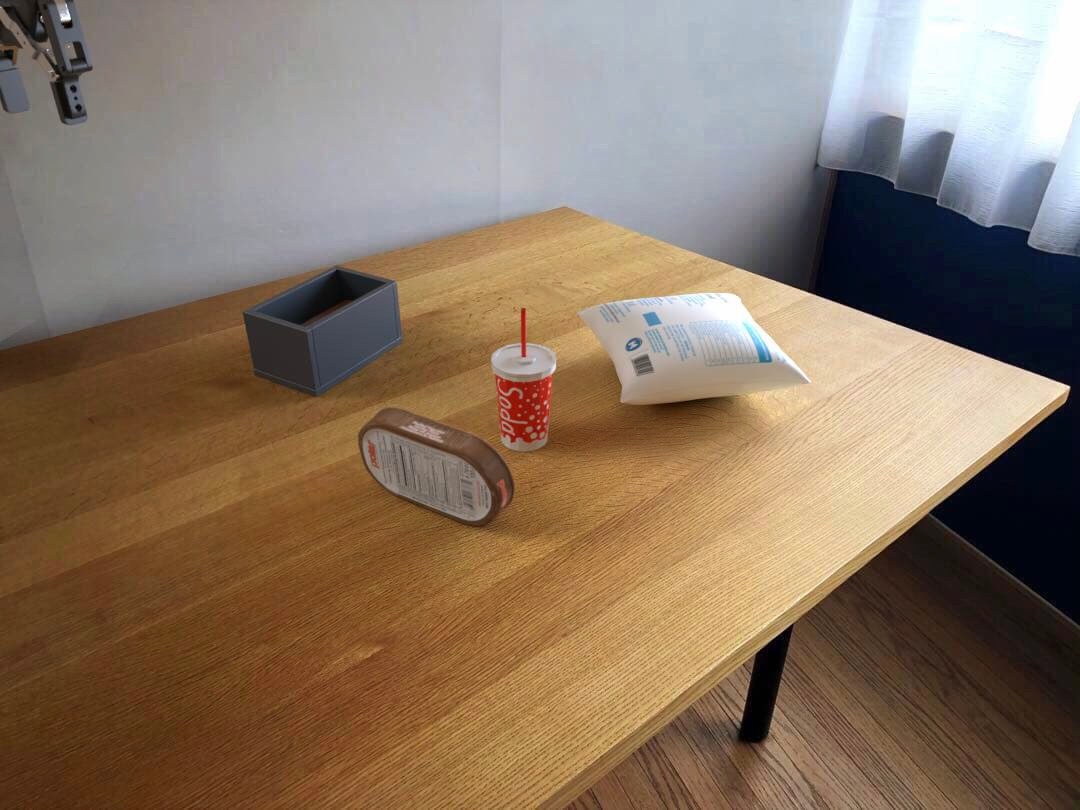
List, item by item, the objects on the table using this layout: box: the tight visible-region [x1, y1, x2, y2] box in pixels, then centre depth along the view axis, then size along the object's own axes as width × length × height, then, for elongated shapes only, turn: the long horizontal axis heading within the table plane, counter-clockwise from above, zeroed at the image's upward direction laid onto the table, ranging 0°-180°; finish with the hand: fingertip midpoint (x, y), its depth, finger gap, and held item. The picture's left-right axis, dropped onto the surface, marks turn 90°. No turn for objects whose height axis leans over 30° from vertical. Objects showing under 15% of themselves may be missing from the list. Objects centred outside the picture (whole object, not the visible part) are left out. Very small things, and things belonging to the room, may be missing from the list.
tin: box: [357, 406, 516, 527], centre depth 73 cm, size 15×3×8 cm, turn 59°
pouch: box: [576, 292, 812, 406], centre depth 93 cm, size 8×19×20 cm
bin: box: [242, 265, 403, 398], centre depth 96 cm, size 15×9×8 cm, turn 149°
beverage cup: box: [490, 307, 557, 452], centre depth 81 cm, size 6×6×14 cm
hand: (46, 117), depth 79 cm, fingers open, 8 cm apart
